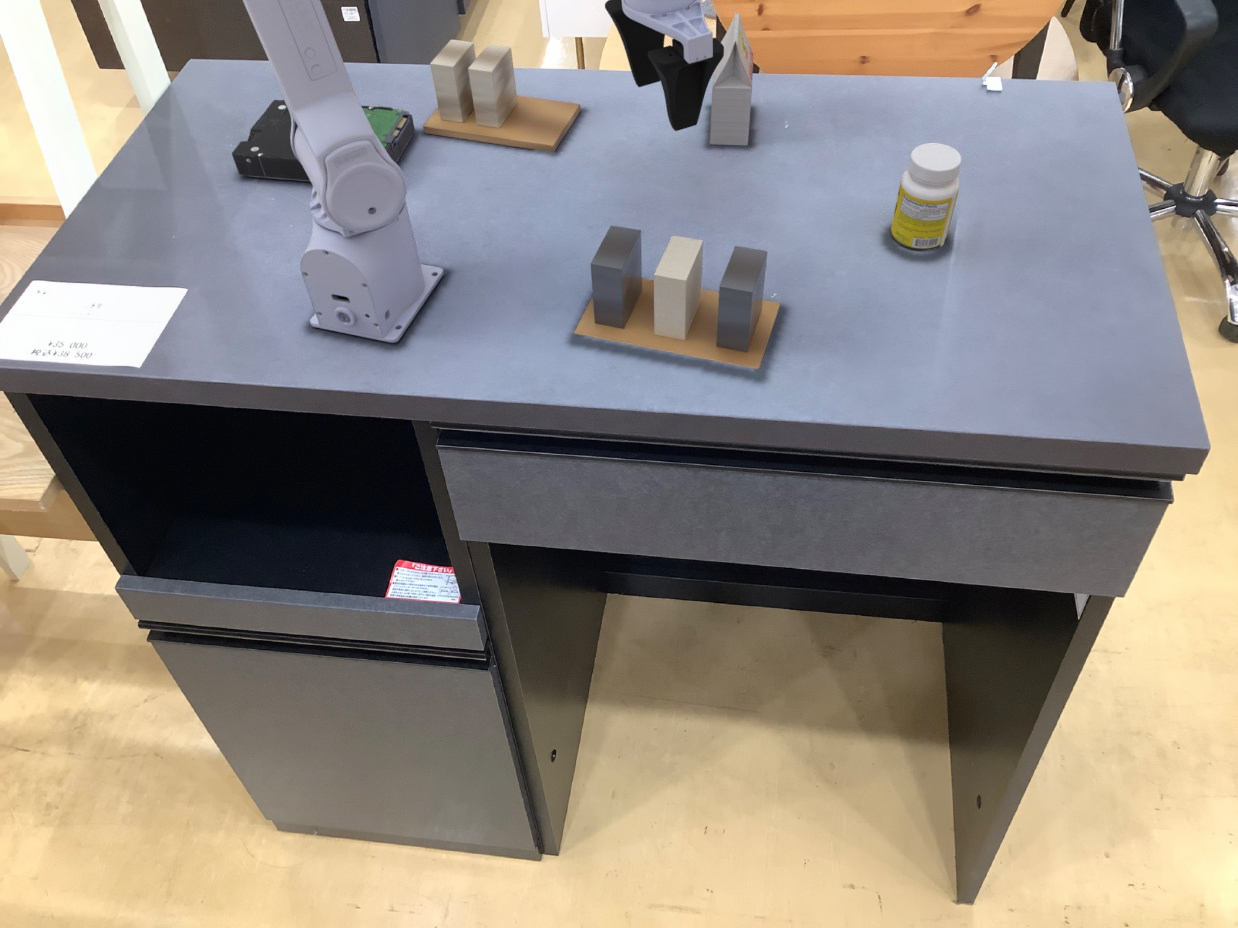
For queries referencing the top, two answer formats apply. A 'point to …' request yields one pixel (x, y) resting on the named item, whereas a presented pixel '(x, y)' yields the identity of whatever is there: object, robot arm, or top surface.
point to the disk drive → (273, 148)
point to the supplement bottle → (927, 197)
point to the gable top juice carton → (732, 89)
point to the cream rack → (492, 101)
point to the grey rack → (723, 319)
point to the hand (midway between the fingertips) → (665, 104)
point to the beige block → (678, 287)
